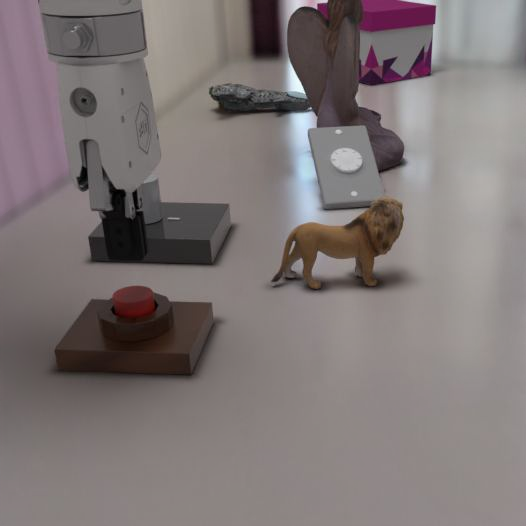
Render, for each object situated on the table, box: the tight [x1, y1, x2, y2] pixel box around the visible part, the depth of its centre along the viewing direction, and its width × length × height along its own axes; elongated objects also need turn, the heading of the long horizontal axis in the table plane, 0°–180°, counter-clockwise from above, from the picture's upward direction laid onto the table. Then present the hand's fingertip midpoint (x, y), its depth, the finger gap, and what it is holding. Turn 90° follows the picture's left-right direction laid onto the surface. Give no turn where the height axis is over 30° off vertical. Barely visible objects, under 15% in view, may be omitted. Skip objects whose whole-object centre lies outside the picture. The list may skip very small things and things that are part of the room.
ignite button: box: [111, 285, 155, 318], centre depth 73 cm, size 4×4×2 cm
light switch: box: [307, 125, 386, 210], centre depth 113 cm, size 8×6×14 cm
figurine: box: [286, 0, 405, 172], centre depth 121 cm, size 18×15×25 cm
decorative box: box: [316, 0, 437, 86], centre depth 183 cm, size 19×19×15 cm
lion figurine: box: [270, 196, 405, 290], centre depth 86 cm, size 15×5×9 cm, turn 104°
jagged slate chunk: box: [208, 82, 311, 113], centre depth 154 cm, size 16×20×5 cm
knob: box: [137, 172, 163, 224], centre depth 94 cm, size 4×4×5 cm
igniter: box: [53, 291, 215, 376], centre depth 74 cm, size 12×10×4 cm
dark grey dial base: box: [87, 201, 232, 265], centre depth 96 cm, size 14×12×3 cm
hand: (128, 256), depth 71 cm, fingers closed
